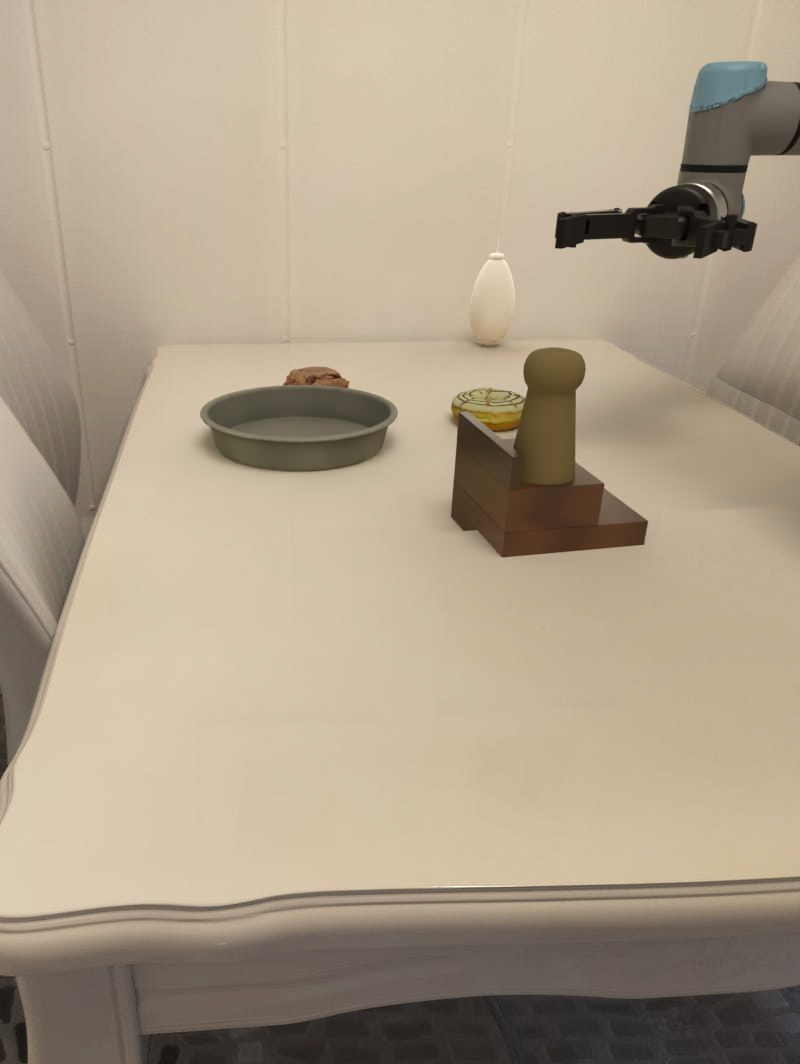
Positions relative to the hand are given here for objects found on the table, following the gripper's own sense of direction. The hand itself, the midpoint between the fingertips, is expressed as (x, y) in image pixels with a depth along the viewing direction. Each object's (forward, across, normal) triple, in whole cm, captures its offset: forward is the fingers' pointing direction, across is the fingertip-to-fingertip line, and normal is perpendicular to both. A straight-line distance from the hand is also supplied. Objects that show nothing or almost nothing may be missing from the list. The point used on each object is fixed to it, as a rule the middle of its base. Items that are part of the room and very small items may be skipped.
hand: (627, 238), depth 89 cm
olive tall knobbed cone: (+19, -1, -18) cm, 26 cm away
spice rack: (+15, 0, -26) cm, 30 cm away
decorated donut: (-18, +20, -26) cm, 38 cm away
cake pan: (+3, +36, -26) cm, 45 cm away
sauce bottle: (-62, +40, -26) cm, 78 cm away
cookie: (-19, +49, -26) cm, 59 cm away
